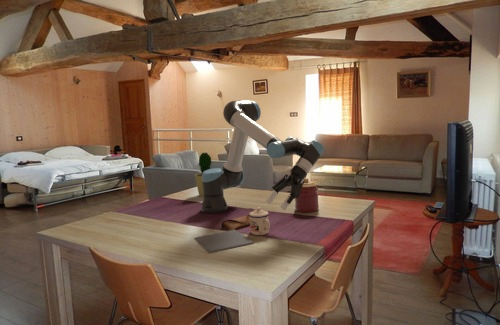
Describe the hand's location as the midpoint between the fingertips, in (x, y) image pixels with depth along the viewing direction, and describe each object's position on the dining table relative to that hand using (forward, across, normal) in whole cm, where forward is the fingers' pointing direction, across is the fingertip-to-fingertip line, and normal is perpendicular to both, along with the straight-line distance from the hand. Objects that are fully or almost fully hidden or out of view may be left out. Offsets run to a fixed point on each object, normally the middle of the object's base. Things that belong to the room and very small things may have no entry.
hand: (274, 205), depth 173 cm
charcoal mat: (+27, +1, +10) cm, 29 cm away
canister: (-14, +22, -31) cm, 41 cm away
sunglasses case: (+16, +17, -2) cm, 24 cm away
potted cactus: (+9, +91, -8) cm, 92 cm away
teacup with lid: (+14, +1, -4) cm, 14 cm away
